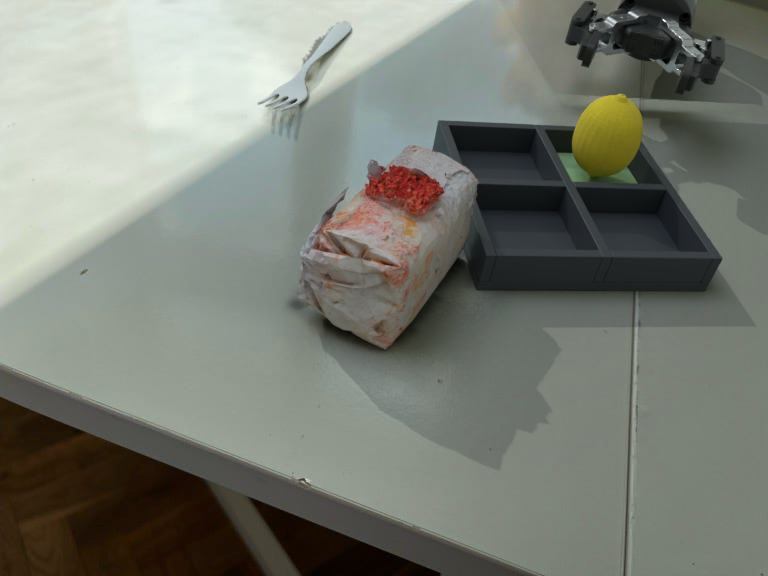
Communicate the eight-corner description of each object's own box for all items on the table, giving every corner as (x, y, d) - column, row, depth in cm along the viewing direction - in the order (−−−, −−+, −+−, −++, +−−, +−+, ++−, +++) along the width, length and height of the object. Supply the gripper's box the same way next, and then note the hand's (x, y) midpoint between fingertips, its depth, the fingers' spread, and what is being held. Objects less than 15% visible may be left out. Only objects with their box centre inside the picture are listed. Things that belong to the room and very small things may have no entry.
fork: (360, 27, 88) (361, 12, 87) (285, 128, 70) (286, 110, 69) (332, 21, 89) (334, 5, 87) (251, 120, 71) (252, 102, 69)
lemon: (607, 203, 66) (640, 119, 61) (550, 175, 68) (577, 92, 63) (633, 178, 70) (666, 97, 64) (578, 152, 72) (606, 72, 66)
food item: (392, 370, 50) (416, 252, 44) (285, 321, 52) (293, 201, 46) (470, 258, 60) (499, 147, 53) (377, 220, 62) (394, 109, 55)
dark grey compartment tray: (621, 159, 74) (633, 128, 72) (705, 291, 60) (723, 258, 58) (431, 152, 70) (438, 119, 68) (476, 290, 57) (486, 255, 55)
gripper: (600, -44, 80) (568, 7, 68) (742, -8, 77) (734, 53, 65) (579, 27, 85) (546, 86, 73) (711, 63, 82) (698, 131, 70)
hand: (634, 70), depth 69 cm, fingers open, 8 cm apart
